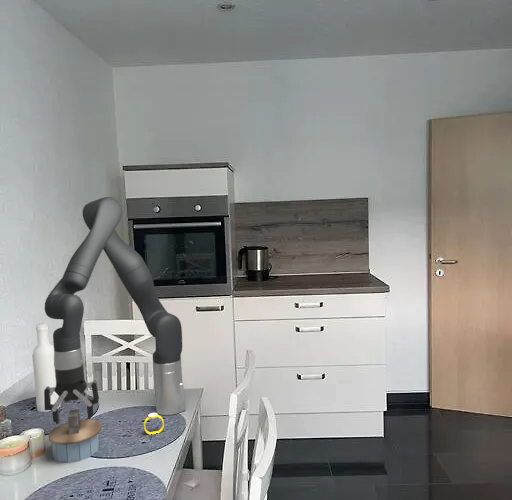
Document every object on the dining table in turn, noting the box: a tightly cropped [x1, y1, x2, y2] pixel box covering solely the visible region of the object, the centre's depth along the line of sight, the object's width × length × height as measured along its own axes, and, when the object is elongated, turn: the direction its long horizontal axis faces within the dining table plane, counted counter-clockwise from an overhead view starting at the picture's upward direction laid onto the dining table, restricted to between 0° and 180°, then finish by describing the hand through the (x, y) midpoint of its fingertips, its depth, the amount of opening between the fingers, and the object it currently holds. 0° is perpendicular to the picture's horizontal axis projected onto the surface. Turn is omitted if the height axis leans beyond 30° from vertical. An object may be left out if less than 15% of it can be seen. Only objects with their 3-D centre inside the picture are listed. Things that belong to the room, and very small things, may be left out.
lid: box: [47, 408, 102, 445], centre depth 140 cm, size 14×14×6 cm
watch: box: [143, 412, 165, 436], centre depth 149 cm, size 6×3×6 cm, turn 107°
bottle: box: [31, 322, 62, 413], centre depth 173 cm, size 8×8×30 cm
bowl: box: [51, 433, 100, 464], centre depth 140 cm, size 12×12×6 cm
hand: (73, 420), depth 140 cm, fingers open, 8 cm apart
